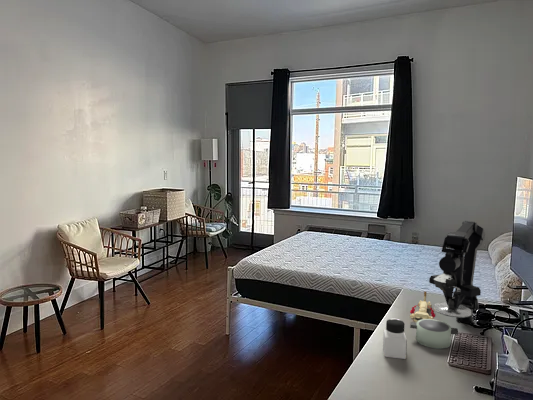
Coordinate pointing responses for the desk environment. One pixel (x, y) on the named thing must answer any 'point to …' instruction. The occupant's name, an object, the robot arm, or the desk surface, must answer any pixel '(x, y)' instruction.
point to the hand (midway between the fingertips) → (452, 307)
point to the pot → (433, 333)
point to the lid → (452, 309)
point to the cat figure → (422, 310)
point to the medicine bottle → (394, 339)
